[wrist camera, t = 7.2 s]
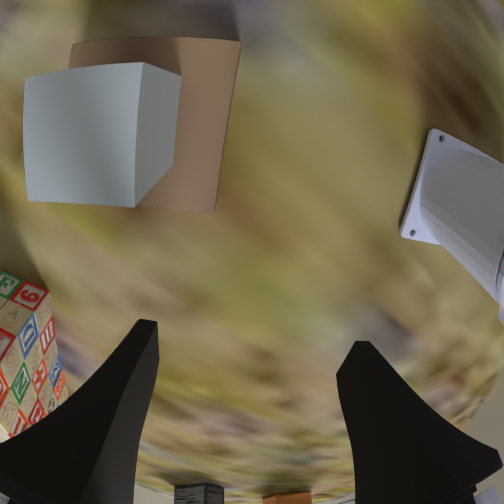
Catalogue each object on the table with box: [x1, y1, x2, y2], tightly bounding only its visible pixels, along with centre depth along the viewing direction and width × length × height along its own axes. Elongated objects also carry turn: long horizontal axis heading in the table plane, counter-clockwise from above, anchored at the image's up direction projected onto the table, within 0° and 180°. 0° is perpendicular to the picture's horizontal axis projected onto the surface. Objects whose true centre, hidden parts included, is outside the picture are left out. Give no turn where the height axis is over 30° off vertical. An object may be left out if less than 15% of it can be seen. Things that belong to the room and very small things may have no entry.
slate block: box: [23, 62, 182, 208], centre depth 10 cm, size 4×4×6 cm
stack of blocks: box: [0, 271, 69, 442], centre depth 19 cm, size 21×6×12 cm, turn 160°
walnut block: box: [68, 37, 241, 214], centre depth 14 cm, size 9×9×3 cm
